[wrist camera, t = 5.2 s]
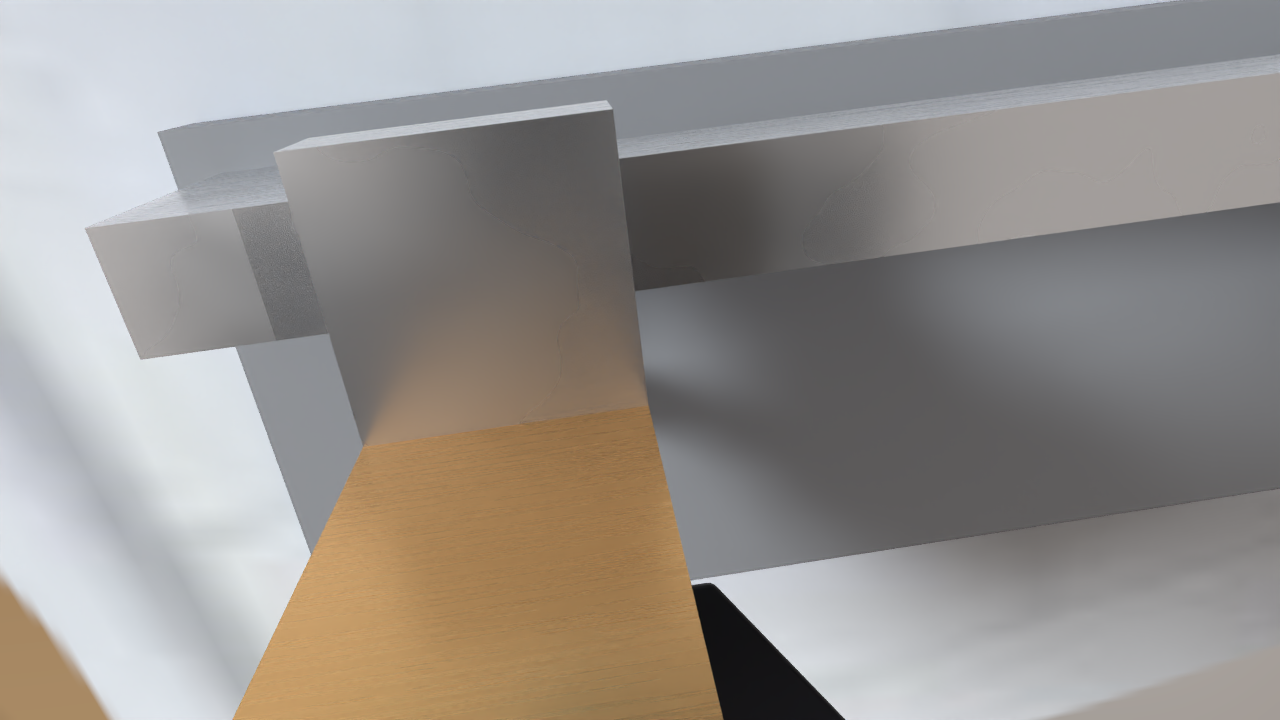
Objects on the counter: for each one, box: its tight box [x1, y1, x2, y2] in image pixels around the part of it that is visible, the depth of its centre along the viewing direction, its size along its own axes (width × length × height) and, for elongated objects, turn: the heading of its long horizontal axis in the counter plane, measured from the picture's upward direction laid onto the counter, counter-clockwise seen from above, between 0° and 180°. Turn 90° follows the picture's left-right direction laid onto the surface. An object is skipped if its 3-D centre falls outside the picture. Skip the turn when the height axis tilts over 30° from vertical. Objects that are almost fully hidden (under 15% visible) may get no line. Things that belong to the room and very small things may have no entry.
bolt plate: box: [158, 0, 1280, 580], centre depth 14 cm, size 26×10×1 cm, turn 96°
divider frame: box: [85, 54, 1280, 359], centre depth 11 cm, size 22×6×4 cm, turn 96°
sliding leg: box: [233, 100, 723, 720], centre depth 8 cm, size 3×7×9 cm, turn 6°
